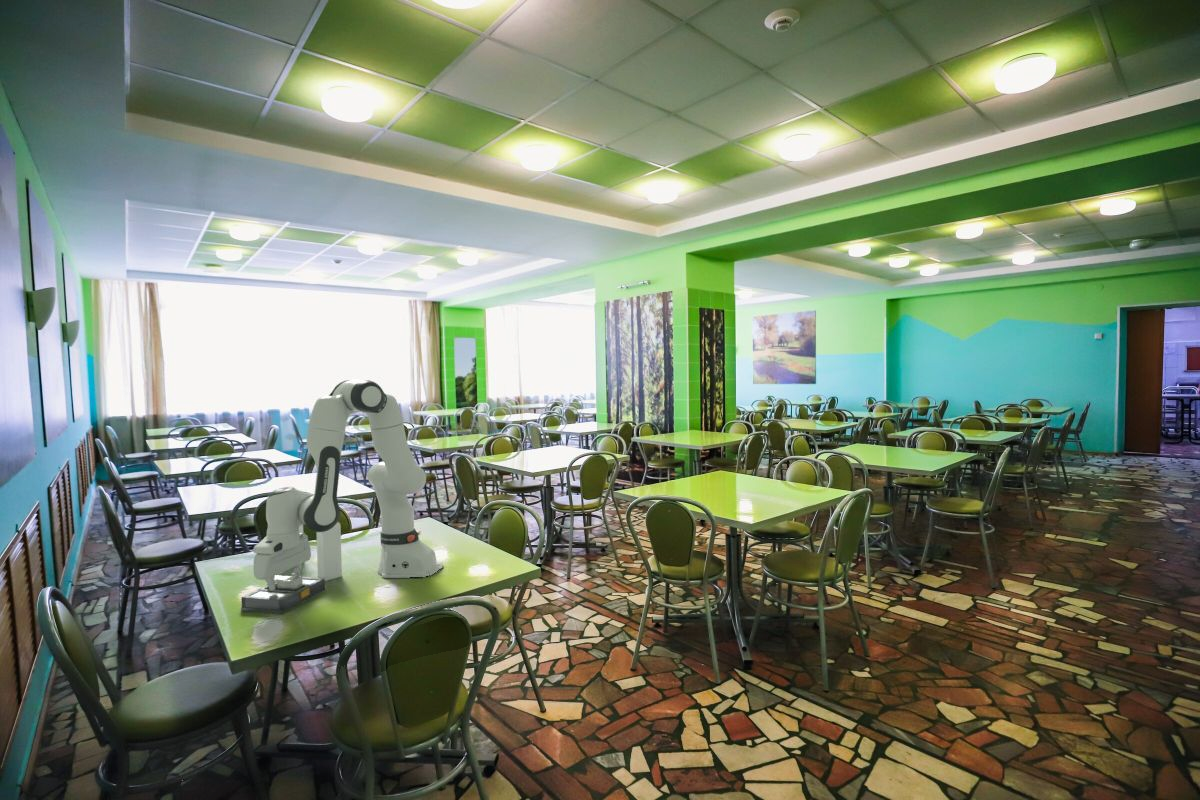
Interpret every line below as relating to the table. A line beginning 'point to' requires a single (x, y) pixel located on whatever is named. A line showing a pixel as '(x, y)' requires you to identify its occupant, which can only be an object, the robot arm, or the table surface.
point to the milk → (329, 553)
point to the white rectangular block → (288, 583)
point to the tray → (282, 597)
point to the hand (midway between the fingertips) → (284, 583)
